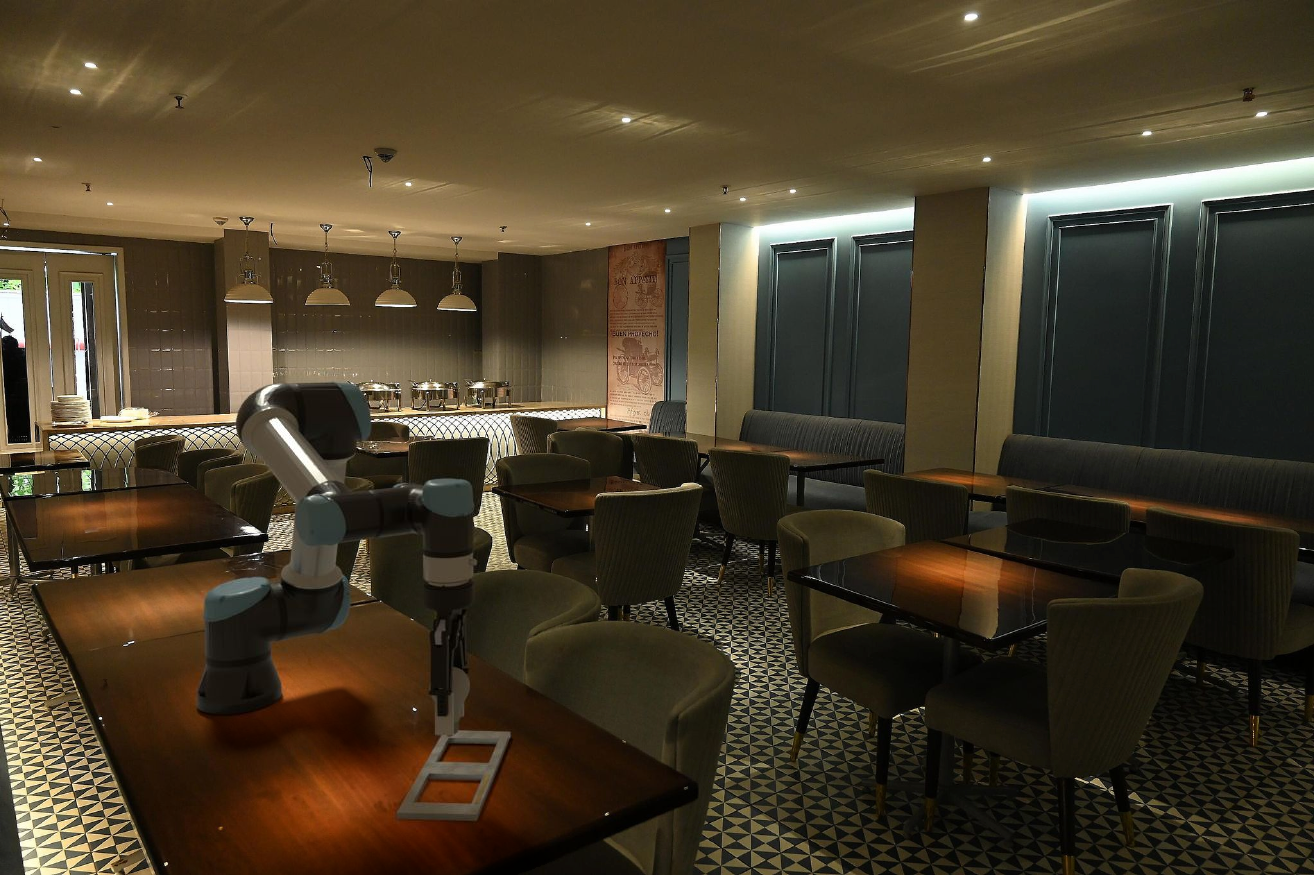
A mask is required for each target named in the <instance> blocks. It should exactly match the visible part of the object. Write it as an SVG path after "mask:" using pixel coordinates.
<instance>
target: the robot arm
mask: <svg viewBox="0 0 1314 875" xmlns="http://www.w3.org/2000/svg"><path fill="white" fill-rule="evenodd" d="M236 414H237V415H236V419H235V429H236V434H237V436H238V439H239V441H240V442H241V444H242V445H243V447H244V448H245V449H246V450H247V452H249V453H250V454H251V455H253V456H256V457H259V458H260V459H261V460H262V461H263V463H264V464H265V465H266V466H267V468H268V469H269V470H270V471H271V473H272V474H273V476H274V477H275V478H276V479H277V481H278V482H279V483H280V485H281V486H282V487H283V489H284V490H285V491H286V492H287V494H288V495H289V497H290V498H291V499H292V501H293V502H294V503H295V507H294V520H293V530H292V541H291V543H292V544H291V551H290V552H291V553H290V560H289V561H290V562H289V563H288V564H286V565H285V566H284V567H283V568H282V569H281V572H280V580H279V581H278V582H272V583H271V582H270V581H269V579H268V578H267V577H266V578H265V577H263V576H262V577H261V576H252V577H243V578H237V579H233V580H229V581H226V582H224V583H221V584H218V585H217V586H215V587H214V588H212V589H211V590H209V591H208V593H207V594H206V595H205V597H204V602H203V614H202V619H203V620H204V621H203V623H204V624H203V625H204V626H203V627H204V628H203V629H204V651H205V666H204V670H203V673H202V677H201V680H200V683H199V686H198V689H197V692H196V707H197V709H198V710H199V711H201V712H203V713H205V714H210V715H218V716H219V715H221V716H222V715H225V716H226V715H228V716H229V715H238V714H244V713H250V712H253V711H257V710H260V709H262V708H265V707H269V706H270V705H272V704H274V703H275V702H277V701H279V699H280V698H281V697H282V695H283V694H282V693H283V691H282V690H283V689H282V681H281V679H280V676H279V673H278V671H277V668H276V666H275V663H274V661H273V658H272V643H275V642H280V641H285V640H290V639H294V638H297V637H298V638H299V637H304V636H308V635H313V634H324V633H326V632H328V631H332V630H335V629H337V628H339V627H341V626H342V625H343V624H344V622H346V620H347V618H348V616H349V612H350V608H351V603H352V602H351V601H352V599H351V598H352V596H351V595H350V592H351V587H350V583H349V580H348V578H347V577H346V576H345V575H344V574H343V572H342V570H341V567H339V566H337V565H336V564H337V563H336V562H337V552H338V546H339V545H338V544H344V543H348V542H349V543H350V542H357V541H364V540H370V539H379V538H386V537H388V538H389V537H394V536H402V535H407V534H409V535H410V534H415V535H420V536H422V546H423V547H422V548H423V553H422V557H423V558H422V560H423V561H422V563H423V564H422V570H423V572H422V573H423V574H422V575H423V577H422V578H423V580H425V582H424V583H423V605H424V607H426V608H427V609H428V610H434V612H436V616H435V618H434V619H433V623H432V624H433V625H432V630H430V632H429V634H428V635H429V641H430V682H431V683H430V682H429V683H430V684H429V690H428V695H429V696H430V697H431V696H435V702H434V735H435V736H441V735H453V734H454V692H452V675H453V667H457V668H459V669H461V670H463V671H464V672H465V673H466V675H467V676H468V675H469V673H470V668H467V665H468V657H467V656H468V653H467V652H468V651H467V644H468V643H467V612H468V609H467V608H468V607H470V606H472V604H474V602H475V601H474V600H475V594H474V593H475V592H474V589H475V588H474V587H475V586H474V585H475V584H474V581H473V579H472V578H473V577H474V566H476V565H477V564H478V560H477V559H476V558H473V556H474V531H475V530H474V523H475V522H474V515H475V514H474V512H475V503H474V496H473V485H472V484H471V482H469V481H468V480H466V479H461V478H459V479H458V478H435V479H430V480H427V481H425V483H424V484H423V485H422V484H418V483H414V482H411V483H409V482H402V483H397V484H395V485H393V486H392V487H390V488H389V487H388V488H381V489H369V490H358V491H352V490H351V489H350V488H349V487H348V485H346V484H345V481H346V473H347V472H346V471H347V462H348V461H349V460H351V459H352V458H354V457H355V455H356V453H357V446H358V443H363V442H366V441H367V440H368V439H369V437H370V435H371V433H372V432H371V431H372V415H371V410H370V407H369V404H368V401H367V398H366V396H365V394H364V392H363V390H362V389H361V388H360V387H358V385H356V384H354V383H351V382H350V383H348V382H337V381H331V382H330V381H328V382H327V381H326V382H292V383H291V382H290V383H289V382H276V383H272V384H267V385H265V386H262V387H260V388H258V389H256V390H255V391H253V392H252V393H251V394H250V395H248V396H247V398H246V399H245V400H244V401H243V402H242V404H240V407H239V409H238V410H237V413H236ZM465 667H466V668H465ZM464 716H465V702H464V703H463V705H462V708H461V713H460V718H463V717H464Z"/></svg>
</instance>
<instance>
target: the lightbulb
mask: <svg viewBox="0 0 1314 875" xmlns="http://www.w3.org/2000/svg"><path fill="white" fill-rule="evenodd" d="M429 683H431V681H430V682H429ZM470 684H471V683H470V678H469V676H468V675H466V673H465V672H464V671H463V670H461V669H459V668H457V667H453V675H452V692H454V734H456V733H457V732H458V730H459V725H460V723H459V722H460V719H461V717H460V713H461V708H462V705H463V703H464V704H465V701H466V699H467V697H468V695H469V693H470V689H471V686H470ZM430 697H431V698H432V700H433V702H434V703H435V696H431V695H430ZM454 734H453V735H454ZM453 735H447V736H448V737H451V736H453Z"/></svg>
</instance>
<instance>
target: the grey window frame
mask: <svg viewBox="0 0 1314 875" xmlns="http://www.w3.org/2000/svg"><path fill="white" fill-rule="evenodd" d="M510 740H511V731H494V730H459V729H458V732H457V733H456V734H454V735H453V736H451V737H448V736H447V735H440V737H439V739H438V740H437V742H436V744H435V746H434V748H433V749H432V750H431V753H430V755H429V756H428V758H427V760H426V761H425V763H424V765H423V766H422V768H421V770H420V771H419V774H418V775H417V777H416V778H415V781H414V783H413V784H412V785H411V787H410V789H409V790H408V793H407V794H406V796H405V798H404V799H403V801H402V802H401V804H400V806H399V808H398V809H397V811H396V819H397V820H421V821H424V820H425V821H426V820H428V821H429V820H430V821H463V822H464V821H465V822H467V821H468V822H469V821H470V822H477V821H478V819H479V816H480V814H481V812H482V810H483V807H484V804H485V801H486V800H487V797H488V794H489V793H490V792H489V791H490V789H491V787H492V784H493V782H494V779H495V776H496V774H497V771H498V769H499V767H500V764H501V762H502V759H503V756H504V754H505V751H506V749H507V748H508V745H509V742H510ZM449 744H466V745H467V744H468V745H469V744H470V745H471V744H476V745H477V744H478V745H495V747H494V750H493V752H492V755H491V756H490V759H489V762H458V761H457V762H454V761H451V762H450V761H440V760H441V758H442V756H443V754H444V753H445V750H446V749H447V747H448V745H449ZM429 780H436V781H437V780H441V781H443V780H444V781H445V780H446V781H451V780H452V781H477V782H478V781H480V783H479V785H478V787H477V790H476V792H475V794H474V796H473V800H472V801H471V803H459V802H455V803H453V802H421V801H419V802H418V800H419V798H420V796H421V795H422V793H423V791H424V788H425V787H426V785H427V783H428V781H429Z"/></svg>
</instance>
